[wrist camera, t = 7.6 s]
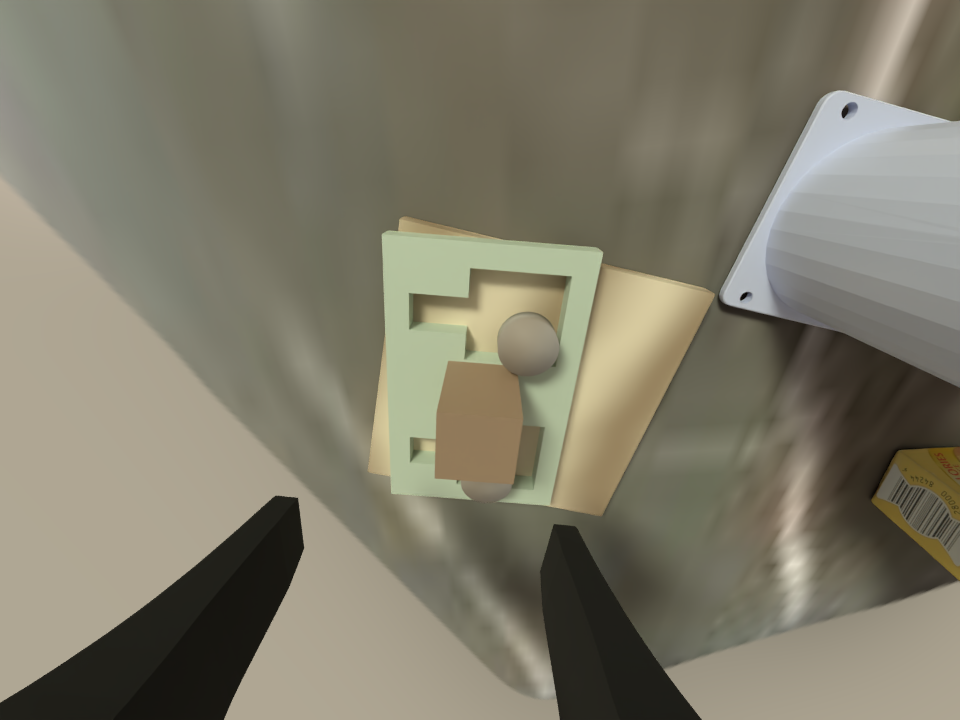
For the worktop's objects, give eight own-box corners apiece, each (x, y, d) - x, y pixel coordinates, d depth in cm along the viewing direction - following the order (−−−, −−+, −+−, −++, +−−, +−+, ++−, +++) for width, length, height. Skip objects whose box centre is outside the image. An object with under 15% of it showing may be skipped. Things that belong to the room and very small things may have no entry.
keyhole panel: (596, 247, 16) (638, 279, 11) (547, 491, 22) (562, 576, 17) (388, 230, 16) (346, 255, 11) (395, 480, 21) (370, 562, 17)
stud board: (703, 287, 17) (747, 312, 14) (597, 502, 23) (612, 551, 20) (404, 216, 16) (385, 226, 13) (372, 459, 22) (354, 504, 19)
